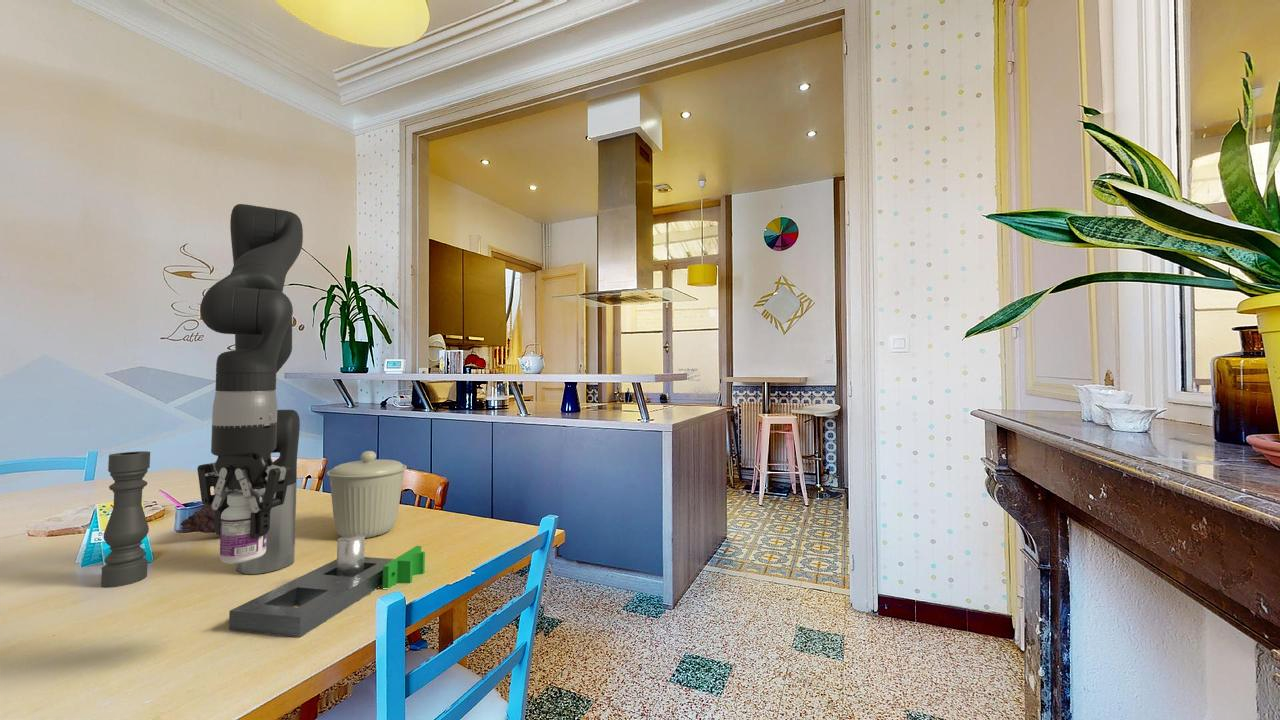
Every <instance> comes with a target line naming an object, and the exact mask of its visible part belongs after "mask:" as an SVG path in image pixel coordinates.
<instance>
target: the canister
mask: <svg viewBox="0 0 1280 720" xmlns="http://www.w3.org/2000/svg"><path fill="white" fill-rule="evenodd" d="M406 470H407V465H406V464H403V463H402V462H400V461H398V460H396V459H395V460H393V459H377V454H376V452H374V451H373V450H367V451H363V452H362V453H361V455H360V460H356V461H348V462H344V463H340V464H338V465H336V466H334V467H333V468H332V469H329V470H328V471H326V475H327V476H328V477H329V485H330V495H331V504H332V514H333V521H334V528H335V530H336V533H337V534H338V535H339V537H343V536H346V535H352V534H363V535H365V539H367V538H374V537H377V535H378V536H381V535H383V534H386V533H387V532H390V531H392V529H393V528H394V527H395V524H396V522H397V519H398V515H399V508H400V501H401V496H402V488H403V487H402V486H403V480H404V472H405V471H406Z"/></svg>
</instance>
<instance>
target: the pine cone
mask: <svg viewBox="0 0 1280 720" xmlns="http://www.w3.org/2000/svg"><path fill="white" fill-rule="evenodd" d="M226 497H227V496H226ZM180 526H181V527H180V528H181V530H182V531H184V530H185V531H187V530H189V531H190V532H196V533H199V532H200V533H204V534H216V531H215V527H214V526H215V510H213V509H212V506H211V505H209V504H207V505H203V507H202V508H201V509H200V510H196V511H194V514H192V515H190V516H189V515H188V517H187V518H186V519H184V520H182V522H181V523H180Z"/></svg>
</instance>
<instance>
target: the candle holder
mask: <svg viewBox="0 0 1280 720" xmlns="http://www.w3.org/2000/svg"><path fill="white" fill-rule="evenodd" d="M107 464H108V466H107V468H108V469H107V471H108V472H109V476H110V477H111V478H112V480H113V481H114V483H112V484H110V485H109V486H108V489H109V490H110V491H112V493H113V504H112V505H113V507H112V510H111V513H110V516H109V519H108V521H107V524H106V527H105V529H104V533H103V541H104V542H105V544H107V546H109V550H110V551H111V552H110V553H109V554H107V556H106V557H105V558H103V559H104V560H103V562H104V563H105V565H104V566H102V567H101V578H100V580H101V582H100V586H101V587H102V588H116V587H117V588H118V587H123V586H127V585H131V584H134V583H138V582H140V581H142V580H144V579H147V577H148V561H149V560H148V558H146V557H145V556H146V555H147V552H146V550H145V549H143V548H142V547H141V545H142V544H143V540H144V539H145V538H146V537H147V536H148V533H149V531H150V529H149V524H148V522H147V517H146V514H145V511H144V507H143V505H142V504H143V489H144V488H145V487H147V485H148V481H146V480H144V479H143V478H145V477H146V474H148V472H149V471H148V469H150V468H151V467H150V465H151V451H147V450H145V451H138V450H137V451H127V452H117V453H110V454H109V455H108V463H107Z"/></svg>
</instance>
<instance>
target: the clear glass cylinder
mask: <svg viewBox="0 0 1280 720" xmlns="http://www.w3.org/2000/svg"><path fill="white" fill-rule="evenodd" d="M365 540H366V538H365V535H363V534H352V535H346V536H343V537H341V536H339V538H337V540H336V541H337V545H336V547H337V548H336V559H337V574H336V576H346V577H354V576H356V575H357V574H359V573H361V572H363V571H364V557H365V546H366V543H365Z"/></svg>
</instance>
